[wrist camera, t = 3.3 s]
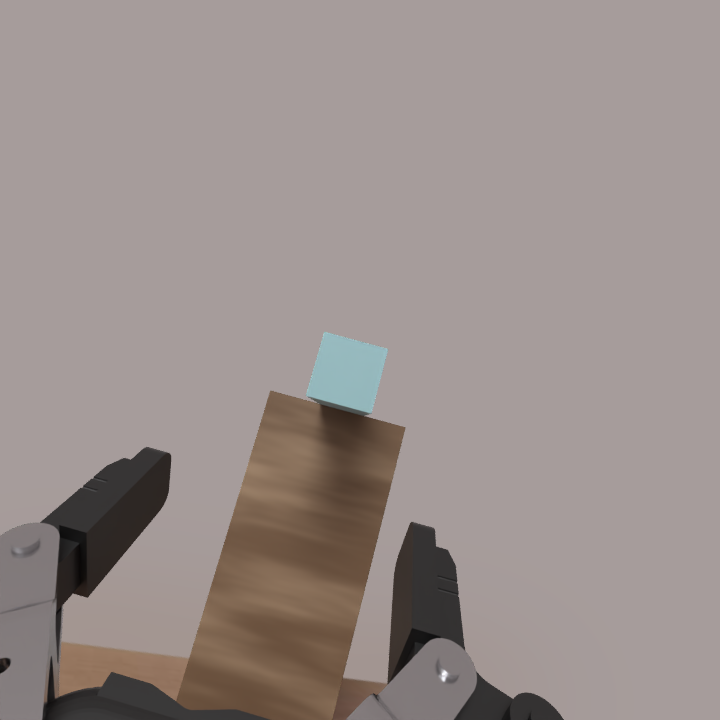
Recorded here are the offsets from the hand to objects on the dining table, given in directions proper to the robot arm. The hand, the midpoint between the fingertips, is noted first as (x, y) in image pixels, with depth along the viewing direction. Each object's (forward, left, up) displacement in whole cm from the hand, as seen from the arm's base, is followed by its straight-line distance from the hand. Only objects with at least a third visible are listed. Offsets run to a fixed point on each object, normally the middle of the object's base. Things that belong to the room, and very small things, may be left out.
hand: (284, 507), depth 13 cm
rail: (-16, -11, +4) cm, 19 cm away
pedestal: (-20, -14, -28) cm, 37 cm away
